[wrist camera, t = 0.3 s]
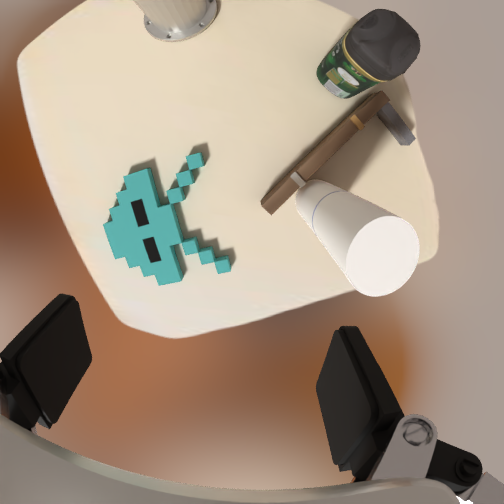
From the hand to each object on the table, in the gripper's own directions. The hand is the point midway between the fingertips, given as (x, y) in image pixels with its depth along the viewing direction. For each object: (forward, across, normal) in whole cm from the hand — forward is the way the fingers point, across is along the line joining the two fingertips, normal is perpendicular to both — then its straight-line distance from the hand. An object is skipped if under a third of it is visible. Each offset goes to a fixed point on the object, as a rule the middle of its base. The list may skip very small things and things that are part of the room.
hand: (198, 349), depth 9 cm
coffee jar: (+37, -15, -23) cm, 46 cm away
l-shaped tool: (+37, -16, -7) cm, 41 cm away
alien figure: (+38, +13, +7) cm, 40 cm away
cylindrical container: (+37, -13, 0) cm, 39 cm away
